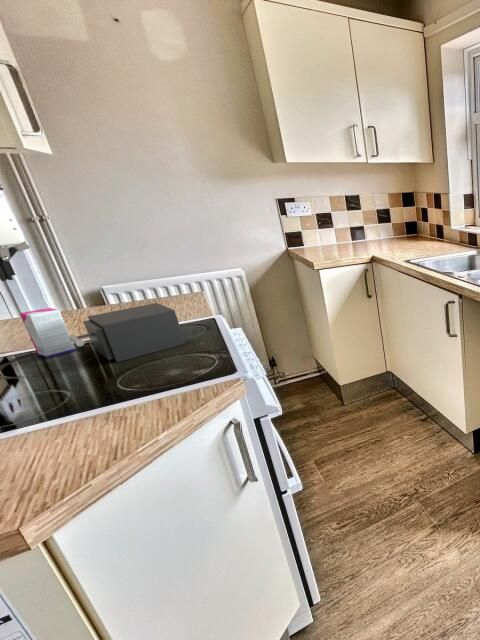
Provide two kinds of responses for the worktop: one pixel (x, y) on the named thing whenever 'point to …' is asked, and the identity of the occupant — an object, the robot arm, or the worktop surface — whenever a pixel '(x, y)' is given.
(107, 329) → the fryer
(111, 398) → the worktop surface
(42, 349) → the supplement box
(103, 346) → the dark grey box
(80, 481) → the worktop surface
